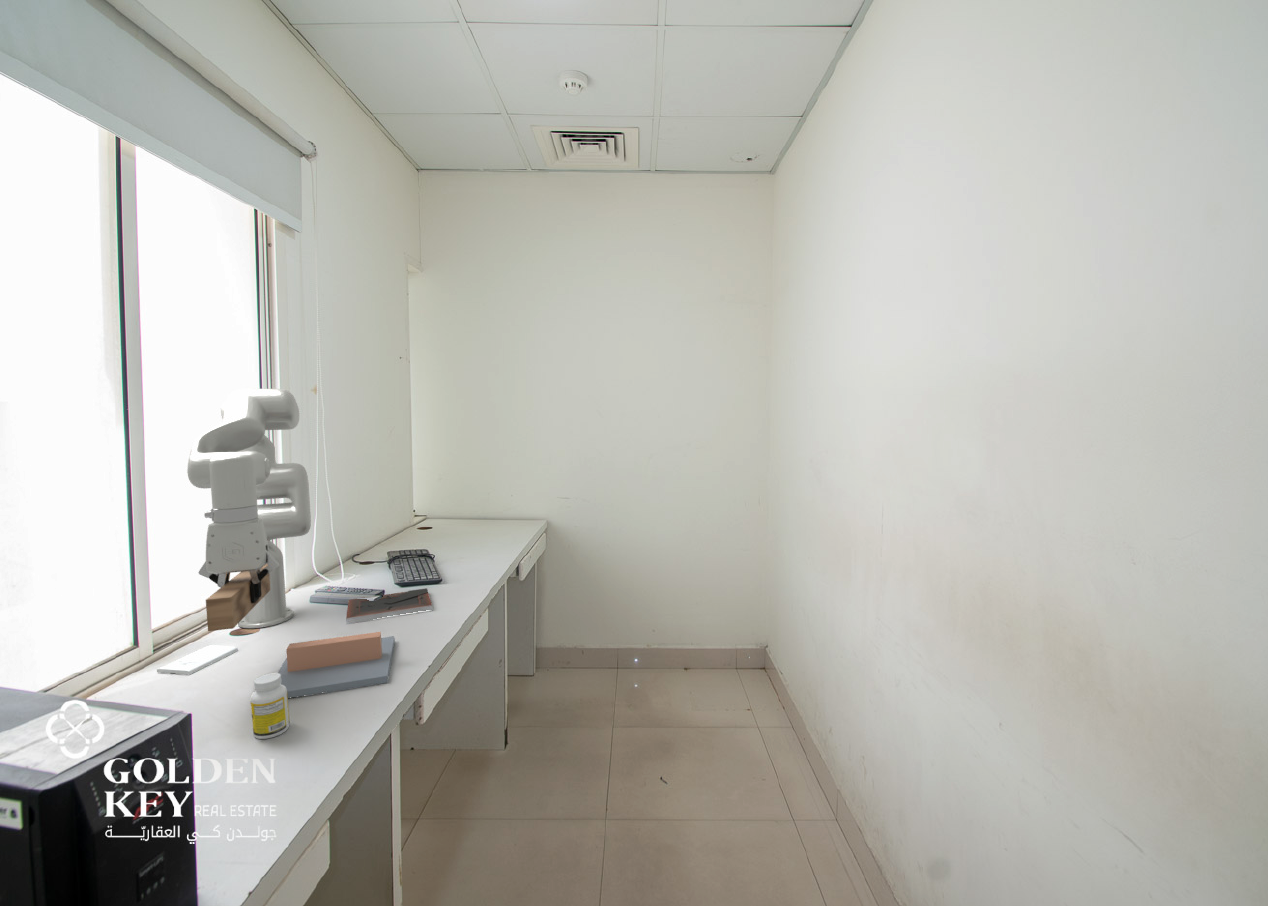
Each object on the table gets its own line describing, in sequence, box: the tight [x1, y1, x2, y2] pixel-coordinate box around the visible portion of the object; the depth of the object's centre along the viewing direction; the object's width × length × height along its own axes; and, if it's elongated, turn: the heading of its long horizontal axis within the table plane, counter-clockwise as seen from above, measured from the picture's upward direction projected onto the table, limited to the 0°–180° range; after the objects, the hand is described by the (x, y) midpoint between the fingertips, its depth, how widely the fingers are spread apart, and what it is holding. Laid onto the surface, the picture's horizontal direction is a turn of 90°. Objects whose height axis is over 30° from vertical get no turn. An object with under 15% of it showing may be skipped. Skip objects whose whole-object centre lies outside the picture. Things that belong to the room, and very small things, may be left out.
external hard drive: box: [156, 644, 239, 676], centre depth 129 cm, size 2×8×12 cm
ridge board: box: [277, 631, 396, 699], centre depth 123 cm, size 22×22×6 cm
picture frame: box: [345, 587, 433, 625], centre depth 162 cm, size 16×2×22 cm
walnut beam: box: [205, 564, 270, 632], centre depth 117 cm, size 24×4×6 cm, turn 19°
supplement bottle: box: [250, 672, 290, 740], centre depth 99 cm, size 5×5×10 cm
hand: (242, 601), depth 117 cm, fingers closed on walnut beam, 4 cm apart
